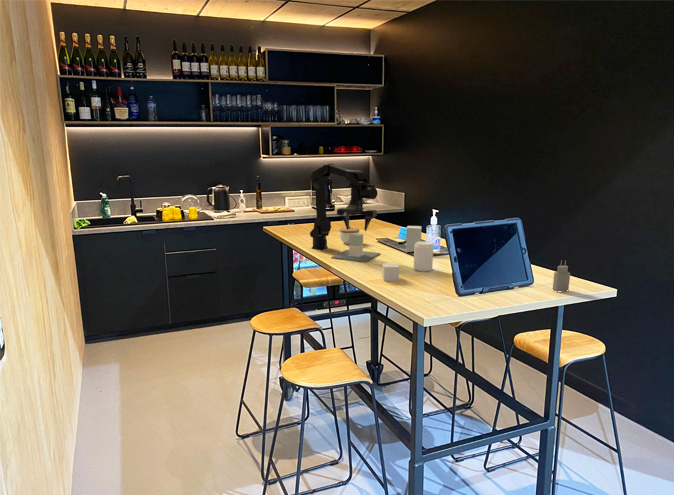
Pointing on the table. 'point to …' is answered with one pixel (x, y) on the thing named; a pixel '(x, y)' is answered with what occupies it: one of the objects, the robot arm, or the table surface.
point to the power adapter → (561, 278)
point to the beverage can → (423, 256)
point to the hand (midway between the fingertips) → (356, 230)
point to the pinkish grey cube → (390, 271)
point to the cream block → (355, 250)
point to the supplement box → (412, 237)
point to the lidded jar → (347, 233)
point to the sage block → (356, 239)
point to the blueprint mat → (363, 258)
